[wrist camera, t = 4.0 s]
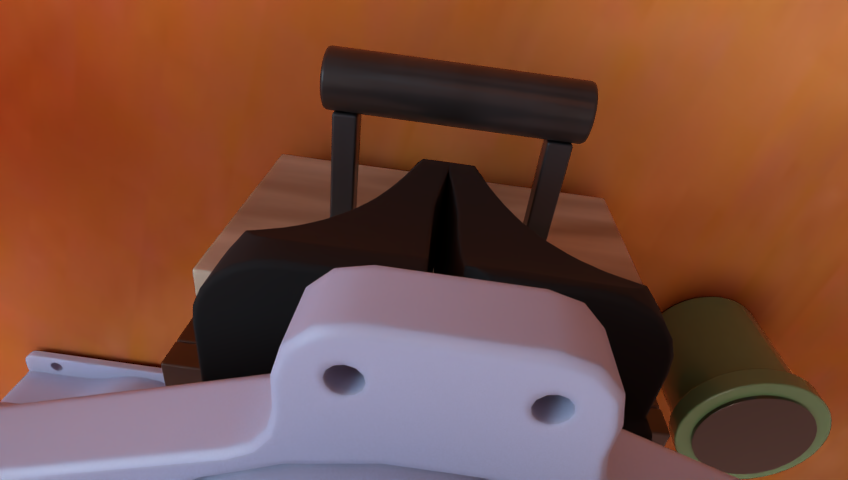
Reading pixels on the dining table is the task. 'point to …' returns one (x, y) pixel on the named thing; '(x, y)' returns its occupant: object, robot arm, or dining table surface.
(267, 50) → the dining table surface
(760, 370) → the green pot
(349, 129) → the drawer
